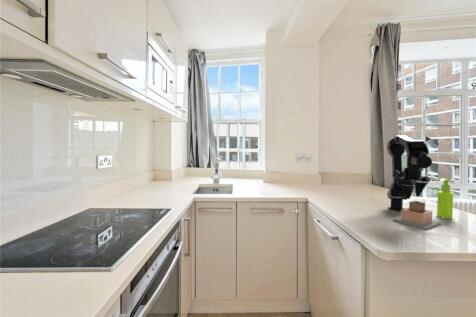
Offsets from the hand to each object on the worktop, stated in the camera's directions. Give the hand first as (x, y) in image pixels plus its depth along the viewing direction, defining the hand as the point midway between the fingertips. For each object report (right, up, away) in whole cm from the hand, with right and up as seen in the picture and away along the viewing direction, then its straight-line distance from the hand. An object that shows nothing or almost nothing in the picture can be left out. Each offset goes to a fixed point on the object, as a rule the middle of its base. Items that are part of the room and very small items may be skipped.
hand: (412, 197), depth 111 cm
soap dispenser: (+21, -11, +6) cm, 24 cm away
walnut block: (+1, -11, -2) cm, 11 cm away
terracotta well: (+1, -12, -1) cm, 12 cm away
